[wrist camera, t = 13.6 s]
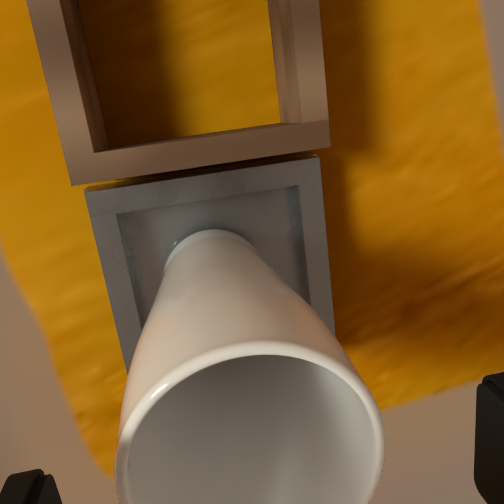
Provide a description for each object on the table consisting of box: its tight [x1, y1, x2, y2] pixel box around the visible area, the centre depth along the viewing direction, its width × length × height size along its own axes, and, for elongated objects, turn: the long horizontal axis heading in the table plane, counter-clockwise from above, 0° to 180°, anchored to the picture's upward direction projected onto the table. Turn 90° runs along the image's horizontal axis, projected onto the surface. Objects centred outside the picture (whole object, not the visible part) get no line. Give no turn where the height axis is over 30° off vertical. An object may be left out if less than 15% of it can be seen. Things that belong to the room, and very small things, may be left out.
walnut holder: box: [26, 0, 331, 186], centre depth 21 cm, size 11×11×4 cm
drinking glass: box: [114, 229, 386, 504], centre depth 18 cm, size 7×7×15 cm
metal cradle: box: [84, 153, 336, 374], centre depth 25 cm, size 11×12×2 cm
